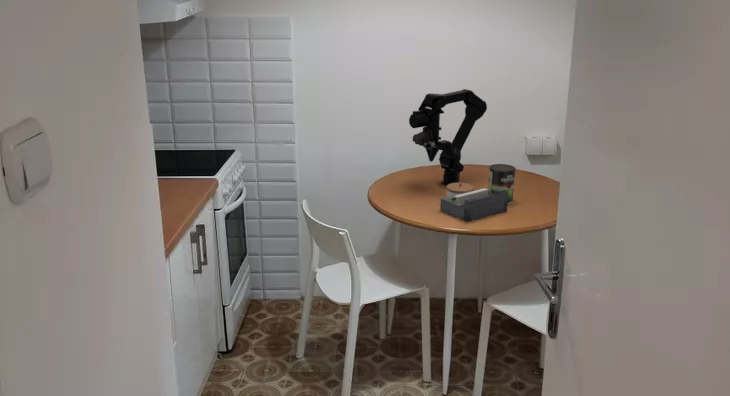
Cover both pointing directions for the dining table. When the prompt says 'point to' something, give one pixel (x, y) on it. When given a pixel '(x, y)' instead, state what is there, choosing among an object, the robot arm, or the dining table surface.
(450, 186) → the lidded jar
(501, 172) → the coffee can
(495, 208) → the box
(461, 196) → the grey flat bar
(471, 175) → the dining table surface
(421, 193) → the dining table surface
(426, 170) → the dining table surface
